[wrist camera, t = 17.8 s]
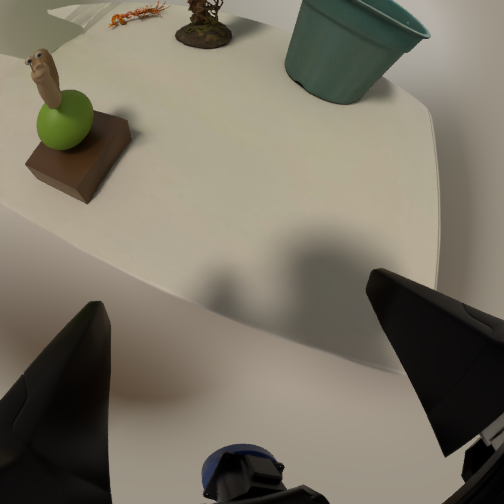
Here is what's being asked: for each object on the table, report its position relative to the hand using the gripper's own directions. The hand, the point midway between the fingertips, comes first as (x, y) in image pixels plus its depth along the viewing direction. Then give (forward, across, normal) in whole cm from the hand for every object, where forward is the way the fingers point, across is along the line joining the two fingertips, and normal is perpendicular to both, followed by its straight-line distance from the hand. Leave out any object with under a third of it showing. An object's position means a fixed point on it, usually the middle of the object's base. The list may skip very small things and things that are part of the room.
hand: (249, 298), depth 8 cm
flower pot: (+31, -18, -11) cm, 37 cm away
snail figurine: (+19, +12, -4) cm, 23 cm away
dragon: (+44, +10, -24) cm, 51 cm away
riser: (+21, +12, -2) cm, 24 cm away
